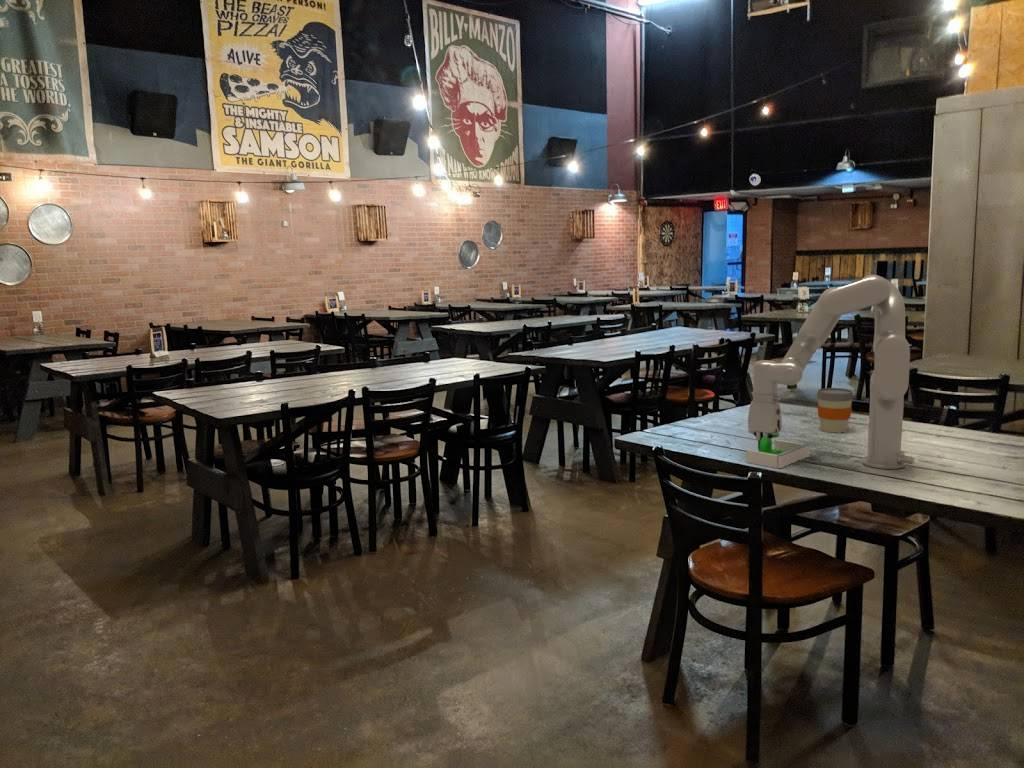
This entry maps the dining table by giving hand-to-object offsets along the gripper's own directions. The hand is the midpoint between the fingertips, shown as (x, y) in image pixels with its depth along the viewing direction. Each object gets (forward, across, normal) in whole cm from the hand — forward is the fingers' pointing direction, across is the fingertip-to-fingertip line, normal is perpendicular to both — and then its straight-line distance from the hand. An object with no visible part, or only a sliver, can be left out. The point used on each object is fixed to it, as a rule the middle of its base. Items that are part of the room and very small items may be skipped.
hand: (763, 452), depth 261 cm
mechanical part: (+2, -4, 0) cm, 5 cm away
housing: (+2, -5, 0) cm, 5 cm away
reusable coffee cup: (+2, 0, -51) cm, 51 cm away
